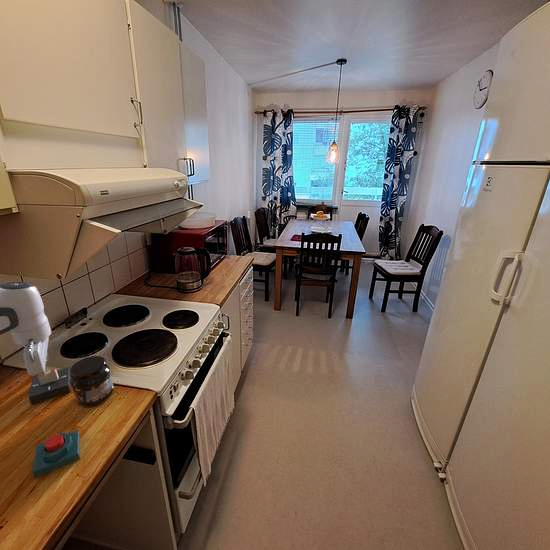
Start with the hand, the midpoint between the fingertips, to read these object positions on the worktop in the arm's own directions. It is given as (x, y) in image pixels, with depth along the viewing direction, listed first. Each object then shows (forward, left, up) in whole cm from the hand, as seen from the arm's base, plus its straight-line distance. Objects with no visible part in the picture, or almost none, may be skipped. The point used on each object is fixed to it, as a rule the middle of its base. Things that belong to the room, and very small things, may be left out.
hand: (44, 368), depth 91 cm
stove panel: (0, -1, -8) cm, 8 cm away
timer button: (+3, -30, -4) cm, 30 cm away
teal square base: (+3, -30, -8) cm, 31 cm away
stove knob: (0, -1, -5) cm, 5 cm away
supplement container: (+12, -12, -8) cm, 19 cm away
